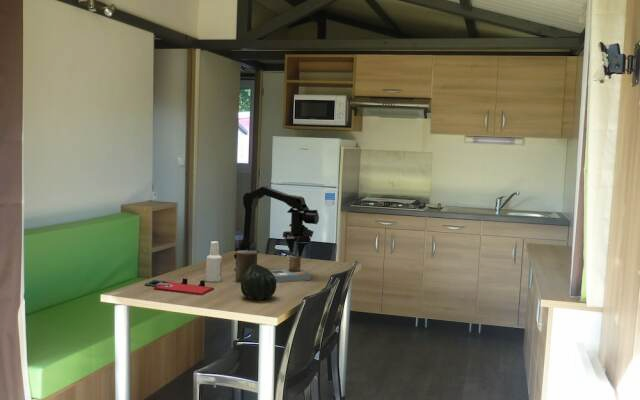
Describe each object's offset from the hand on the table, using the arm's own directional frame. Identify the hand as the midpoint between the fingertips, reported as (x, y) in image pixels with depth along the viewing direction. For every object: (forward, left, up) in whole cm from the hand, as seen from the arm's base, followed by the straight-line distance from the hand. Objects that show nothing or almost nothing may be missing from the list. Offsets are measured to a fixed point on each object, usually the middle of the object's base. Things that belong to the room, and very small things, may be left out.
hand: (295, 254), depth 287 cm
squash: (-33, -31, -12) cm, 47 cm away
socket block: (-5, -1, -11) cm, 12 cm away
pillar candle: (-26, 0, -12) cm, 28 cm away
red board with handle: (-59, -4, -12) cm, 60 cm away
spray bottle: (-40, +5, -12) cm, 41 cm away
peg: (0, 0, -11) cm, 11 cm away
